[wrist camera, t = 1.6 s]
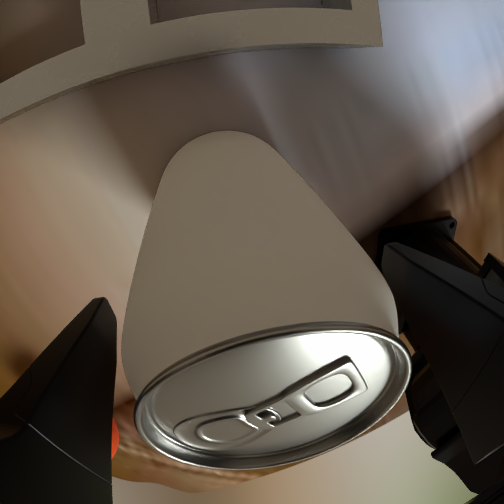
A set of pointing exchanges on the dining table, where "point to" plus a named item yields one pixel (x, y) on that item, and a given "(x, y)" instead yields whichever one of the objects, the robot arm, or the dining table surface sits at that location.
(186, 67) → the dining table surface
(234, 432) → the can
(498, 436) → the robot arm
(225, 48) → the grey compartment tray
